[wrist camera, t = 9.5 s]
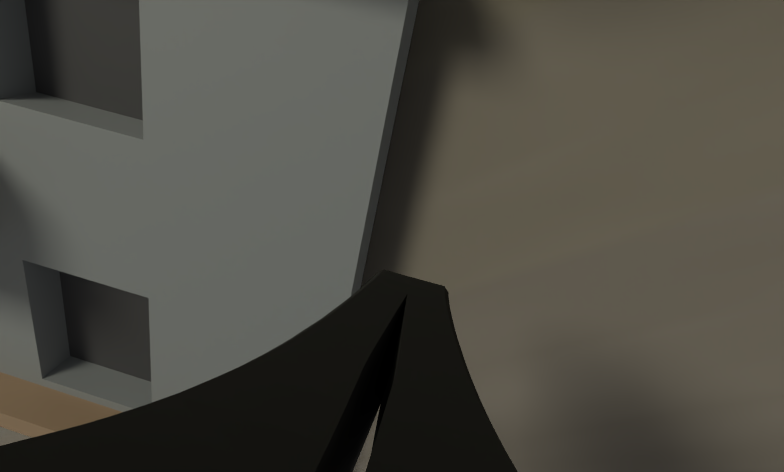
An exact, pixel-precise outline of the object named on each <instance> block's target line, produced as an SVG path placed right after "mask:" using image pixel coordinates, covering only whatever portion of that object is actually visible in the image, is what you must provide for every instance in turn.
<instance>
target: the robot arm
mask: <svg viewBox="0 0 784 472" xmlns="http://www.w3.org/2000/svg"><path fill="white" fill-rule="evenodd" d="M380 404H381V405H380ZM379 406H380V410H379V415H378V420H377V426H376V431H375V436H374V441H373V447H372V452H371V456H370V459H369V463H368V466H367V469H366V472H517V470H516V468H515V466H514V465H513V463H512V461H511V459H510V458H509V456H508V454H507V452H506V451H505V449H504V447H503V445H502V443H501V441H500V439H499V438H498V436H497V434H496V432H495V430H494V428H493V426H492V424H491V422H490V420H489V418H488V416H487V414H486V412H485V409H484V407H483V405H482V403H481V401H480V398H479V396H478V394H477V391H476V389H475V386H474V384H473V381H472V379H471V377H470V374H469V371H468V369H467V366H466V363H465V360H464V357H463V354H462V351H461V348H460V345H459V342H458V339H457V335H456V332H455V328H454V324H453V320H452V316H451V311H450V305H449V297H448V291H447V290H446V288H445V286H442V285H438V284H434V283H431V282H427V281H423V280H420V279H416V278H412V277H408V276H405V275H401V274H397V273H394V272H390V271H386V270H382V271H380V272H378V273H377V274H376V275H375V276H374V277H373V278H371V279H370V280H369V281H368V282H367V283H366V284H365V285H364V286H363V287H361V288H360V289H359V290H358V291H357V292H355V293H354V294H353V295H352V296H351V297H349V298H348V299H347V300H346V301H344V302H343V303H342V304H340V305H339V306H338V307H336V308H335V309H334V310H332V311H331V312H330V313H328V314H327V315H326V316H324V317H323V318H321V319H320V320H318V321H317V322H315V323H314V324H312V325H311V326H309V327H308V328H306V329H305V330H303V331H302V332H300V333H298V334H297V335H295V336H294V337H292V338H291V339H289V340H287V341H286V342H284V343H282V344H281V345H279V346H277V347H276V348H274V349H272V350H270V351H268V352H267V353H265V354H263V355H261V356H259V357H257V358H255V359H253V360H251V361H249V362H248V363H246V364H244V365H242V366H240V367H238V368H235V369H233V370H231V371H229V372H227V373H224V374H222V375H220V376H218V377H215V378H213V379H211V380H208V381H206V382H204V383H201V384H199V385H197V386H194V387H192V388H189V389H187V390H185V391H182V392H180V393H177V394H174V395H172V396H169V397H166V398H163V399H160V400H158V401H155V402H152V403H149V404H146V405H143V406H140V407H137V408H134V409H131V410H128V411H125V412H122V413H119V414H116V415H113V416H109V417H106V418H103V419H100V420H96V421H93V422H89V423H86V424H83V425H79V426H75V427H71V428H67V429H64V430H60V431H56V432H52V433H48V434H45V435H41V436H37V437H33V438H29V439H25V440H22V441H18V442H14V443H10V444H6V445H2V446H0V472H352V471H353V469H354V467H355V464H356V462H357V459H358V457H359V455H360V452H361V450H362V447H363V445H364V443H365V440H366V438H367V435H368V433H369V431H370V428H371V426H372V423H373V421H374V418H375V416H376V414H377V411H378V409H379Z"/></svg>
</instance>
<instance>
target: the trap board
mask: <svg viewBox="0 0 784 472" xmlns="http://www.w3.org/2000/svg"><path fill="white" fill-rule="evenodd" d="M418 3H419V0H0V427H3V428H6V429H9V430H12V431H15V432H18V433H21V434H24V435H27V436H30V437H37V436H41V435H45V434H48V433H52V432H56V431H60V430H64V429H67V428H71V427H75V426H79V425H83V424H86V423H89V422H93V421H96V420H100V419H103V418H106V417H109V416H113V415H116V414H119V413H122V412H125V411H128V410H131V409H134V408H137V407H140V406H143V405H146V404H149V403H152V402H155V401H158V400H160V399H163V398H166V397H169V396H172V395H174V394H177V393H180V392H182V391H185V390H187V389H189V388H192V387H194V386H197V385H199V384H201V383H204V382H206V381H208V380H211V379H213V378H215V377H218V376H220V375H222V374H224V373H227V372H229V371H231V370H233V369H235V368H238V367H240V366H242V365H244V364H246V363H248V362H249V361H251V360H253V359H255V358H257V357H259V356H261V355H263V354H265V353H267V352H268V351H270V350H272V349H274V348H276V347H277V346H279V345H281V344H282V343H284V342H286V341H287V340H289V339H291V338H292V337H294V336H295V335H297V334H298V333H300V332H302V331H303V330H305V329H306V328H308V327H309V326H311V325H312V324H314V323H315V322H317V321H318V320H320V319H321V318H323V317H324V316H326V315H327V314H328V313H330V312H331V311H332V310H334V309H335V308H336V307H338V306H339V305H340V304H342V303H343V302H344V301H346V300H347V299H348V298H349V297H351V296H352V295H353V294H354V293H355V292H357V291H358V290H359V289H360V288H361V283H362V278H363V273H364V268H365V263H366V258H367V254H368V249H369V244H370V239H371V234H372V229H373V224H374V219H375V214H376V209H377V204H378V200H379V195H380V190H381V185H382V180H383V175H384V170H385V165H386V160H387V155H388V151H389V146H390V141H391V136H392V131H393V126H394V121H395V116H396V111H397V106H398V102H399V97H400V92H401V87H402V82H403V77H404V72H405V67H406V62H407V57H408V53H409V48H410V43H411V38H412V33H413V28H414V23H415V18H416V13H417V8H418Z"/></svg>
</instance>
